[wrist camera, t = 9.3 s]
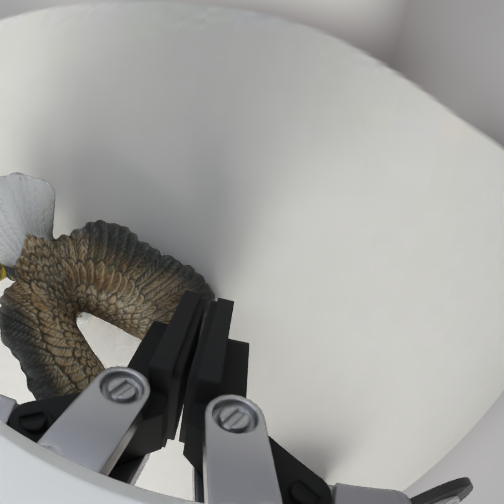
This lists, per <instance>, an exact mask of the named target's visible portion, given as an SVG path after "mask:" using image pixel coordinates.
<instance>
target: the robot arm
mask: <svg viewBox="0 0 504 504" xmlns="http://www.w3.org/2000/svg"><path fill="white" fill-rule="evenodd" d="M201 295H202V294H200V293H196V292H192V291H188V290H185V292H184V294H183V296H182V298H181V300H180V302H179V304H178V306H177V308H176V310H175V312H174V314H173V316H172V318H171V320H170V322H169V324H166V323H162V322H159V321H153V322H152V324H151V326H150V327H149V329H148V331H147V333H146V334H145V336H144V338H143V340H142V341H141V343H140V345H139V347H138V349H137V350H136V352H135V354H134V356H133V357H132V359H131V361H130V363H129V365H128V366H127V367H120V366H118V367H110V368H107V369H105V370H103V371H102V372H100V373H99V374H98V375H97V376H96V377H95V378H94V379H93V380H92V381H91V382H90V383H89V385H88V386H87V387H86V388H85V389H84V390H83V391H81V392H77V393H72V394H67V395H63V396H58V397H53V398H48V399H42V400H37V401H31V402H27V403H24V404H21V405H19V404H17V402H16V400H14V399H12V398H9V397H6V396H3V395H0V504H411V501H410V499H409V498H408V497H407V495H405V494H404V493H402V492H401V491H396V490H389V489H377V488H368V487H360V486H352V485H346V484H339V483H336V484H335V485H334V486H333V485H327V483H326V482H325V481H324V480H323V479H321V478H320V477H319V476H318V475H316V474H315V473H314V472H312V471H311V470H310V469H308V468H307V467H306V466H305V465H303V464H302V463H301V462H300V461H298V460H297V459H296V458H295V457H293V456H292V455H291V454H290V453H288V452H287V451H286V450H285V449H284V448H282V447H281V446H280V445H279V444H278V443H277V442H275V441H274V440H273V439H272V438H271V437H270V436H268V433H267V428H266V423H265V418H264V415H263V413H262V410H261V409H260V408H259V407H258V406H257V404H255V403H254V402H252V401H251V400H249V399H247V398H246V392H247V374H248V357H249V343H246V342H241V341H236V340H232V339H228V335H229V329H230V323H231V317H232V311H233V305H234V301H230V300H226V299H221V298H218V301H217V302H216V301H211V303H210V306H209V309H208V312H207V316H206V319H205V322H204V325H203V329H202V332H201V328H202V322H203V317H204V312H205V307H206V301H207V299H203V298H201ZM200 333H201V335H200ZM183 405H184V408H183ZM182 409H183V415H182V422H181V430H180V437H179V442H183V443H185V445H184V451H183V455H184V456H185V457H186V458H187V460H188V461H189V462H190V463H191V464H192V465H193V469H192V482H193V501H189V500H185V499H180V498H176V497H172V496H168V495H164V494H160V493H156V492H153V491H149V490H146V489H142V488H139V487H136V486H134V485H135V483H136V481H137V479H138V477H139V476H140V474H141V472H142V470H143V468H144V466H145V464H146V463H147V461H148V459H149V456H150V453H152V452H154V451H157V450H159V449H161V448H162V447H165V446H166V442H167V439H171V440H174V438H175V435H176V431H177V427H178V423H179V420H180V416H181V412H182ZM459 501H460V499H459V497H458V496H452V497H448V498H445V499H443V500H440V501H438V502H435V503H433V504H458V503H459Z"/></svg>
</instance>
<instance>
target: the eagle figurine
mask: <svg viewBox="0 0 504 504" xmlns="http://www.w3.org/2000/svg"><path fill="white" fill-rule="evenodd" d="M54 207H55V191H54V189H53V187H52V186H51V185H50V184H48V183H47V182H45V181H43V180H41V179H38V178H34V177H30V176H27V175H24V174H22V173H17V172H16V173H12V174H10V175H7V176H0V281H1V280H3V279H4V278H6V277H7V278H9V279H10V280H12V281H16V282H14V283H13V284H12V285H11V286H10V287H9V288H6V289H5V290H4V295H3V296H1V298H0V304H1V305H2V307H0V330H1V332H0V333H1V341H2V342H3V344H4V345H5V346H7V347H8V348H9V349H10V350H11V353H12V354H13V355H14V357H15V358H17V359H18V360H19V362H20V365H21V369H22V371H23V372H24V373H25V375H26V377H27V387H28V389H29V391H31V392H32V393H33V395H34V397H35V399H36V401H37V400H42V399H48V398H53V397H58V396H63V395H67V394H72V393H77V392H81V391H83V390H84V389H85V388H86V387H87V386H88V385H89V383H90V382H91V381H92V380H93V379H94V378H95V377H96V376H97V375H98V374H99V373H100V372H102V371H103V370H105V368H104V366H103V364H102V363H101V361H100V360H99V359H98V357H97V356H96V355H95V354H94V352H93V351H92V349H91V348H90V346H89V345H88V343H87V341H86V340H85V338H84V336H83V334H82V333H81V331H80V330H79V328H78V326H77V323H80V324H85V323H87V322H88V320H89V319H90V317H91V316H92V315H94V316H96V317H98V318H100V319H102V320H104V321H106V322H109V323H111V324H113V325H115V326H117V327H119V328H120V329H122V330H124V331H125V332H127V333H129V334H131V335H133V336H135V337H137V338H139V339H141V340H143V338H144V336H145V334H146V333H147V331H148V329H149V327H150V326H151V324H152V322H153V321H159V322H162V323H166V324H169V322H170V320H171V318H172V316H173V314H174V312H175V310H176V308H177V306H178V304H179V302H180V300H181V298H182V296H183V294H184V292H185V290H188V291H192V292H196V293H200V294H202V295H201V298H203V299H207V301H206V307H205V312H204V317H203V322H202V328H201V332H202V329H203V325H204V322H205V319H206V316H207V312H208V309H209V306H210V303H211V301H213V300H214V299H215V295H214V292H213V291H212V290H211V288H210V286H209V285H208V284H207V283H205V280H204V277H203V276H202V275H200V274H198V273H195V271H194V268H193V267H191V266H189V265H187V266H183V265H181V263H180V262H179V261H177V260H175V259H174V258H173V257H172V256H169V255H163V256H162V255H161V254H160V252H159V251H158V250H157V249H154V248H152V247H151V246H150V245H149V244H148V243H145V242H139V241H138V237H137V235H136V234H135V233H132V232H130V230H129V228H127V227H125V226H120V225H118V224H115V223H110V224H109V223H106V222H104V221H102V220H98V221H96V222H95V223H94V222H88V223H87V224H86V225H85V227H84V228H83V229H76V230H73V231H72V233H71V235H70V236H66V235H63V234H62V235H61V236H60V237H59V238H58V239H54V238H53V233H52V231H53V220H54ZM200 335H201V333H200Z"/></svg>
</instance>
